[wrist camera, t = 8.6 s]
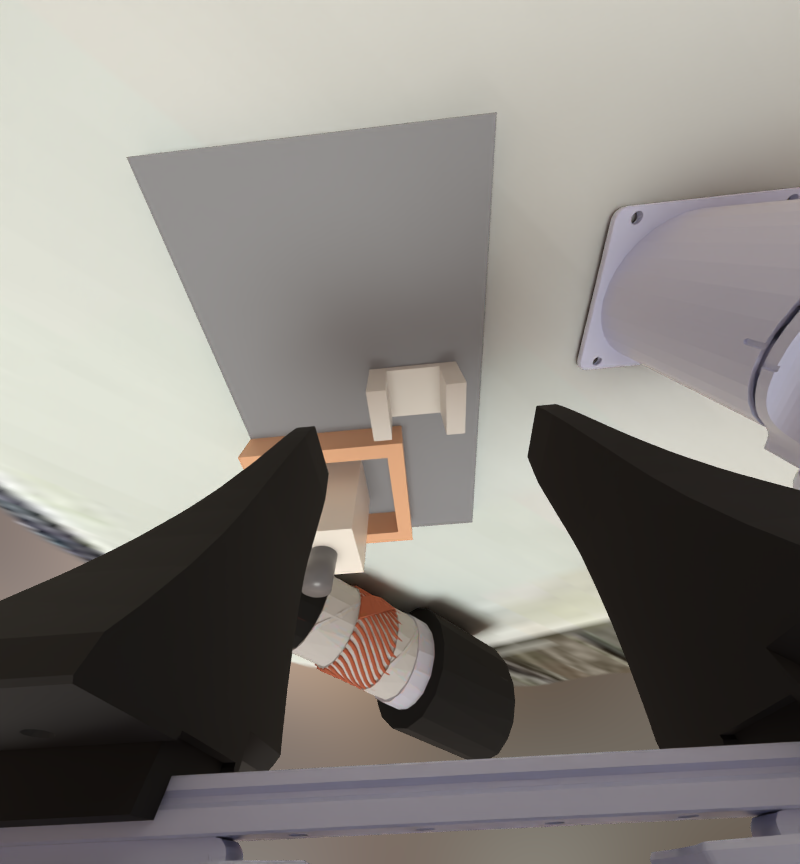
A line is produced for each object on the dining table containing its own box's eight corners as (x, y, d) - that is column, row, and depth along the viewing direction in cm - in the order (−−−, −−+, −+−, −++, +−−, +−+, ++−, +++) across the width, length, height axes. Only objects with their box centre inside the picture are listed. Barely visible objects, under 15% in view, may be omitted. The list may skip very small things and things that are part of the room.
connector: (361, 458, 21) (347, 562, 14) (369, 499, 23) (360, 606, 16) (305, 463, 21) (264, 569, 14) (318, 503, 23) (289, 611, 17)
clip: (455, 361, 17) (466, 382, 15) (455, 407, 19) (465, 433, 16) (369, 369, 17) (365, 391, 15) (376, 414, 19) (374, 441, 17)
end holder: (401, 425, 20) (402, 443, 18) (411, 519, 24) (412, 539, 23) (250, 439, 20) (237, 457, 18) (290, 528, 25) (283, 549, 23)
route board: (489, 120, 13) (496, 112, 12) (469, 512, 26) (472, 522, 25) (143, 162, 13) (126, 156, 12) (297, 526, 26) (293, 536, 25)
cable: (242, 475, 29) (202, 519, 19) (479, 624, 38) (533, 704, 29) (173, 561, 28) (96, 650, 19) (431, 690, 38) (469, 793, 28)
